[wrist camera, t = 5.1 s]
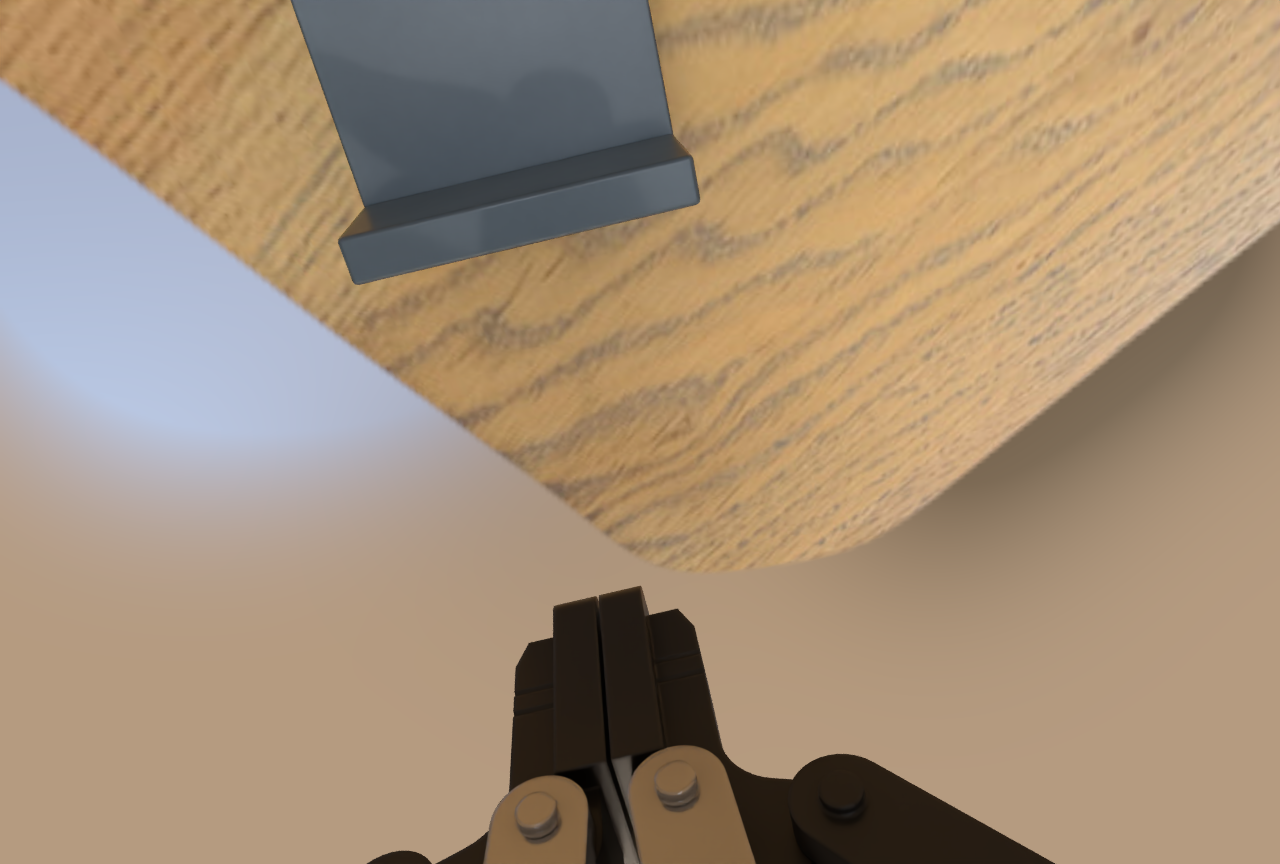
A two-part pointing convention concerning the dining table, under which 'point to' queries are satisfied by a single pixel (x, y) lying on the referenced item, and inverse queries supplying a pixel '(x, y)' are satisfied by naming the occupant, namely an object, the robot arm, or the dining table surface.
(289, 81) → the dining table surface
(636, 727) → the robot arm
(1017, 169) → the dining table surface
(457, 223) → the chair
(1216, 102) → the dining table surface
